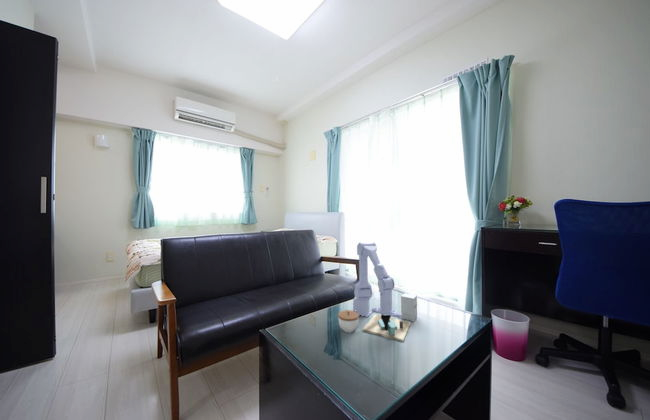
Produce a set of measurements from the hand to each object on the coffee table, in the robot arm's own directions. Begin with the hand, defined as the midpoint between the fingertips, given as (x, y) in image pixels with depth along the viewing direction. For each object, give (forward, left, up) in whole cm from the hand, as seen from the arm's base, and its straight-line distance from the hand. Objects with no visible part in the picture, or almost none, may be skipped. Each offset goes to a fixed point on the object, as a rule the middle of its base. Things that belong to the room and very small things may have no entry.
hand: (386, 329), depth 111 cm
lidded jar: (-18, -5, -2) cm, 19 cm away
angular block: (0, +5, -1) cm, 5 cm away
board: (-1, +7, -2) cm, 7 cm away
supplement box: (+7, +25, -2) cm, 26 cm away
